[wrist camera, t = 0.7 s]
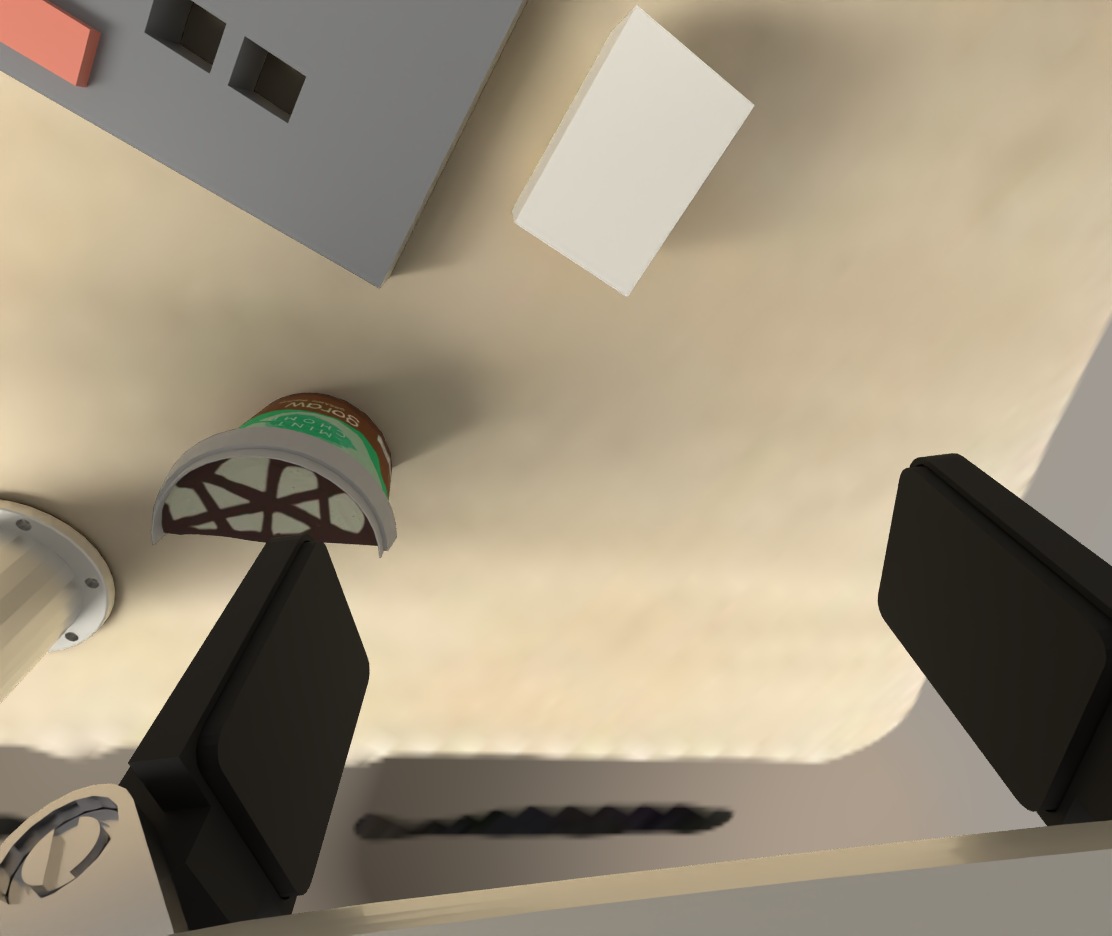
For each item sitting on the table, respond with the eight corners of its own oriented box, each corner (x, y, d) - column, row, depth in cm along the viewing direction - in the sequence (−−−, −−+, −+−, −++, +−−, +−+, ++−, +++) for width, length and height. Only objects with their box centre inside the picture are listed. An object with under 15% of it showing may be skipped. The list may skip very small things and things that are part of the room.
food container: (417, 384, 38) (392, 455, 29) (414, 470, 41) (391, 558, 32) (209, 365, 37) (117, 433, 28) (221, 455, 39) (140, 544, 31)
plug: (598, 264, 36) (627, 297, 28) (510, 205, 34) (514, 223, 26) (692, 116, 33) (754, 105, 25) (601, 42, 31) (636, 4, 23)
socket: (389, 276, 35) (376, 291, 32) (0, 49, 29) (-71, 35, 25) (533, -13, 29) (538, -35, 26) (89, -373, 23) (13, -469, 20)
